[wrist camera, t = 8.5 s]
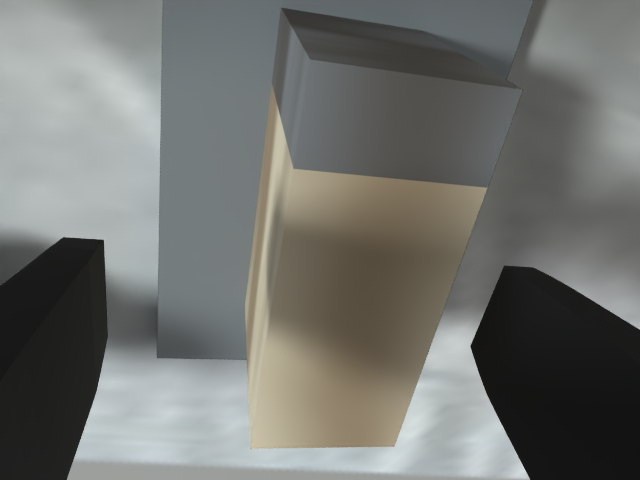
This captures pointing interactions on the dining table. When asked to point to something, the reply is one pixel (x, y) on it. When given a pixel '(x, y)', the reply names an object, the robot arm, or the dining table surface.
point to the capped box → (360, 223)
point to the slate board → (254, 141)
